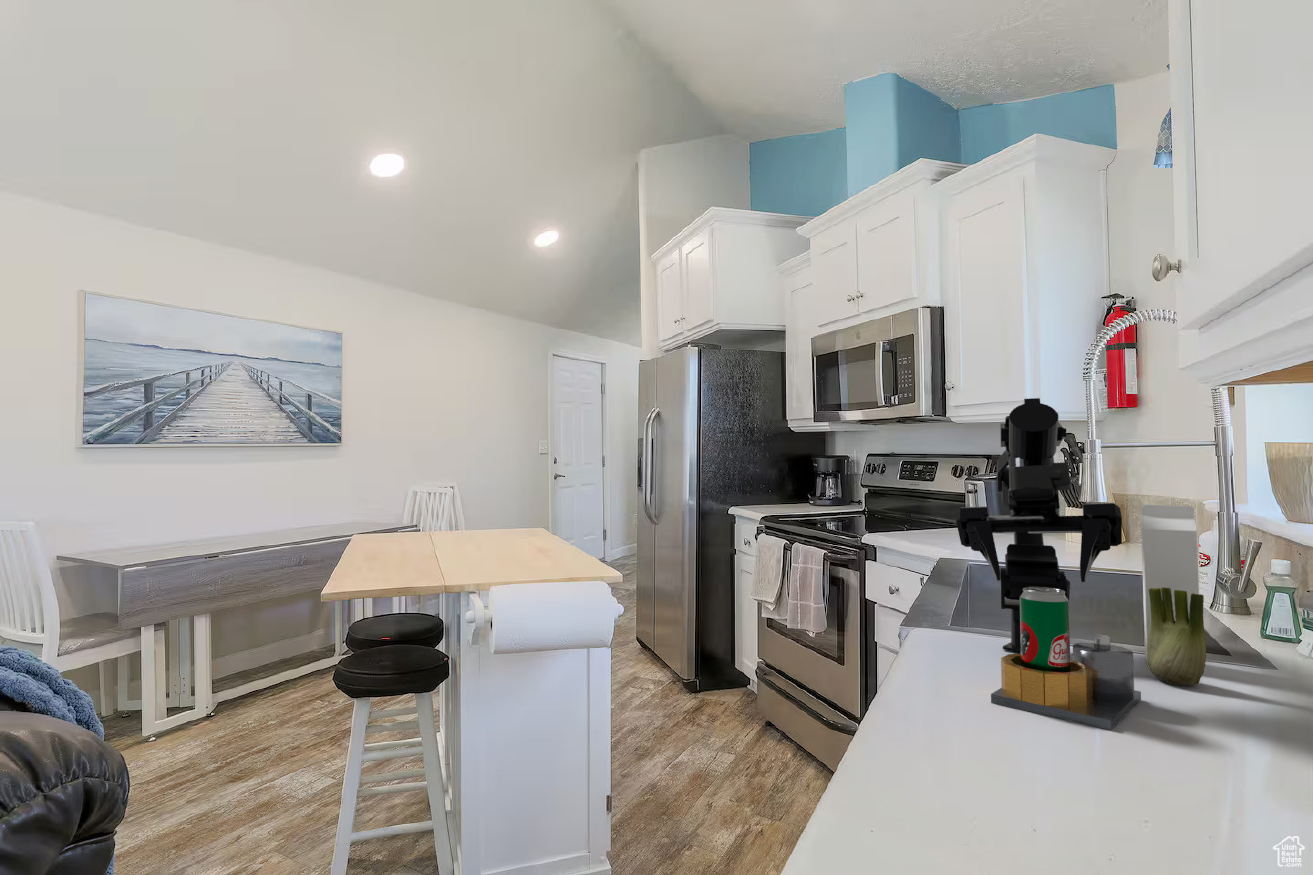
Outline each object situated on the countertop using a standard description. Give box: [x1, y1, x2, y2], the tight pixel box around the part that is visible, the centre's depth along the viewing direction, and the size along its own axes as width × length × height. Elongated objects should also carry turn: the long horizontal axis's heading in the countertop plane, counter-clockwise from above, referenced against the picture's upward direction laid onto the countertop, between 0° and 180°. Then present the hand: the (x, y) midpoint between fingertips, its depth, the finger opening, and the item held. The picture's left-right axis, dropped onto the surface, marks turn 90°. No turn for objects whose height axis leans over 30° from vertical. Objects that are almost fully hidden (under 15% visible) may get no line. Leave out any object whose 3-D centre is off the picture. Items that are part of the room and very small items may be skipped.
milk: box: [1140, 504, 1200, 666], centre depth 98 cm, size 6×6×22 cm
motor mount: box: [990, 634, 1142, 731], centre depth 82 cm, size 14×12×8 cm
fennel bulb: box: [1146, 587, 1207, 686], centre depth 90 cm, size 6×5×12 cm
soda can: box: [1019, 587, 1071, 673], centre depth 82 cm, size 5×5×12 cm
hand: (1039, 579), depth 87 cm, fingers open, 9 cm apart
